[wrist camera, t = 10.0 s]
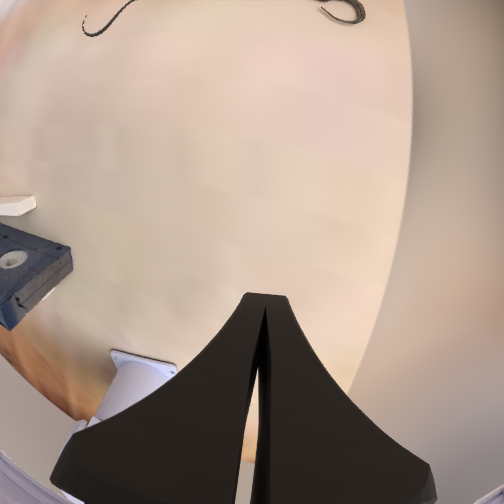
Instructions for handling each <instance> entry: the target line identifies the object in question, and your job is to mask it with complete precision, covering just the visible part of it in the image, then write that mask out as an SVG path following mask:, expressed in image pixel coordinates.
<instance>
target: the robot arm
mask: <svg viewBox="0 0 504 504" xmlns="http://www.w3.org/2000/svg"><path fill="white" fill-rule="evenodd" d="M111 356H112V359H113V361H114V364H115V366H116V368H117V371H118V372H117V374H116V375H115V377H114V379H113V381H112V383H111V385H110V386H109V388H108V390H107V392H106V394H105V396H104V398H103V400H102V401H101V403H100V405H99V407H98V409H97V411H96V413H95V415H94V417H92V418H91V420H90V422H89V424H88V425H87V423H88V422H87V421H85V420H83V419H82V420H79V421H76V422H75V423H74V425H73V427H72V428H71V430H70V432H69V434H68V436H67V438H66V440H65V442H64V444H63V446H62V449H61V451H60V453H59V456H58V461H57V463H56V465H55V467H54V470H53V472H52V474H51V476H50V481H51V483H52V484H53V485H55V486H56V487H58V488H59V489H61V491H62V492H63V493H64V495H65V496H66V498H65V497H63V496H61V495H60V494H58V493H57V492H55V491H53V490H52V489H50V488H49V487H47V486H46V485H44V484H43V483H41V482H40V481H39V480H37V479H36V478H34V477H33V476H32V475H30V474H29V473H28V472H26V471H25V470H24V469H22V468H21V467H20V466H18V465H17V464H16V463H15V462H14V461H12V460H11V459H10V458H9V456H8V455H7V454H6V453H5V452H4V451H2V450H1V449H0V504H235V498H236V491H237V484H238V476H239V469H240V461H241V453H242V446H243V438H244V431H245V425H246V420H247V415H248V411H249V407H250V402H251V398H252V393H253V388H254V384H255V379H256V375H257V370H258V394H259V426H258V440H257V450H256V459H255V467H254V476H253V484H252V492H251V500H250V504H434V503H435V502H436V501H437V494H436V489H435V483H434V478H433V475H432V472H431V469H430V466H429V464H428V463H426V462H424V461H423V460H422V459H420V458H419V457H417V456H416V455H414V454H413V453H411V452H409V451H408V450H407V449H405V448H404V447H402V446H401V445H399V444H398V443H397V442H395V441H394V440H393V439H392V438H390V437H389V436H388V435H387V434H385V433H384V432H383V431H382V430H381V429H380V428H379V427H378V426H376V425H375V424H374V423H373V422H372V421H371V420H370V419H369V418H368V417H367V416H366V415H365V414H364V413H363V412H362V411H361V410H360V409H359V408H358V407H357V406H356V405H355V404H354V403H353V402H352V401H351V400H350V398H349V397H348V396H347V395H346V394H345V393H344V391H343V390H342V389H341V388H340V387H339V385H338V384H337V383H336V382H335V380H334V379H333V378H332V377H331V375H330V374H329V373H328V371H327V370H326V368H325V367H324V366H323V364H322V363H321V361H320V360H319V358H318V357H317V355H316V354H315V352H314V350H313V349H312V347H311V345H310V344H309V342H308V340H307V338H306V337H305V335H304V333H303V331H302V329H301V328H300V326H299V324H298V322H297V320H296V317H295V315H294V313H293V311H292V309H291V306H290V303H289V301H288V299H287V297H286V296H282V295H271V294H260V293H250V292H247V293H245V294H244V295H243V297H242V299H241V301H240V303H239V305H238V306H237V308H236V309H235V311H234V312H233V314H232V315H231V317H230V318H229V319H228V321H227V322H226V323H225V325H224V326H223V327H222V328H221V330H220V331H219V332H218V333H217V335H216V336H215V337H214V338H213V339H212V340H211V341H210V342H209V343H208V345H207V346H206V347H205V348H204V349H203V350H202V351H201V352H200V353H199V354H198V355H197V356H196V357H195V358H194V359H193V360H192V361H191V362H190V363H189V364H188V365H186V366H185V367H184V368H183V369H182V370H181V371H180V372H178V371H177V367H176V366H175V365H173V364H169V363H164V362H160V361H155V360H151V359H147V358H142V357H138V356H134V355H130V354H126V353H123V352H119V351H115V350H112V351H111ZM474 504H504V484H503V485H502V486H500V487H499V488H497V489H495V490H494V491H492V492H491V493H489V494H487V495H485V496H484V497H482V498H481V499H479V500H477V501H475V502H474Z"/></svg>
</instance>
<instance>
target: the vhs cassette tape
mask: <svg viewBox="0 0 504 504" xmlns="http://www.w3.org/2000/svg"><path fill="white" fill-rule="evenodd" d="M70 250H71V248H70V247H68V246H64V245H61V244H59V243H55V242H52V241H50V240H46V239H43V238H41V237H38V236H35V235H32V234H29V233H26V232H24V231H21V230H18V229H15V228H13V227H10V226H7V225H5V224H2V223H0V324H1V325H2V326H4V327H5V328H6V329H8V330H9V331H11V329H13V328H14V327H15V326H16V325H17V324H18V323H19V322H20V321H21V320H22V319H23V318H24V316H25V314H26V313H28V312H29V311H31V310H32V309H33V307H34V306H36V305H37V303H38V302H39V301H40V300H42V299H43V298H44V297H45V296H46V294H47V293H48V292H50V291H51V290H52V289H53V288H54V287H55V286H56V285H58V284H59V282H61V280H62V279H64V278H65V277H66V276H67V275H68V274H70V273H71V271H72V270H73V268H72V257H71V255H70Z"/></svg>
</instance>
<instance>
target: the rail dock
mask: <svg viewBox="0 0 504 504" xmlns="http://www.w3.org/2000/svg"><path fill="white" fill-rule="evenodd" d="M33 208H36V201H35V195H27V196H10V197H0V215H8V216H20V215H22V214H24V213H26V212H28V211H30V210H32V209H33ZM55 289H56V288H55V287H54V288H53V289H52V290H51V291H50V292H48V293H47V294H46V296H45V297H44V298H43V299H42V300H40V301H44V300H45V299H46V298H47V297H48V296H49V295H50V294H51V293H52V292H53V291H54V290H55Z"/></svg>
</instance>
